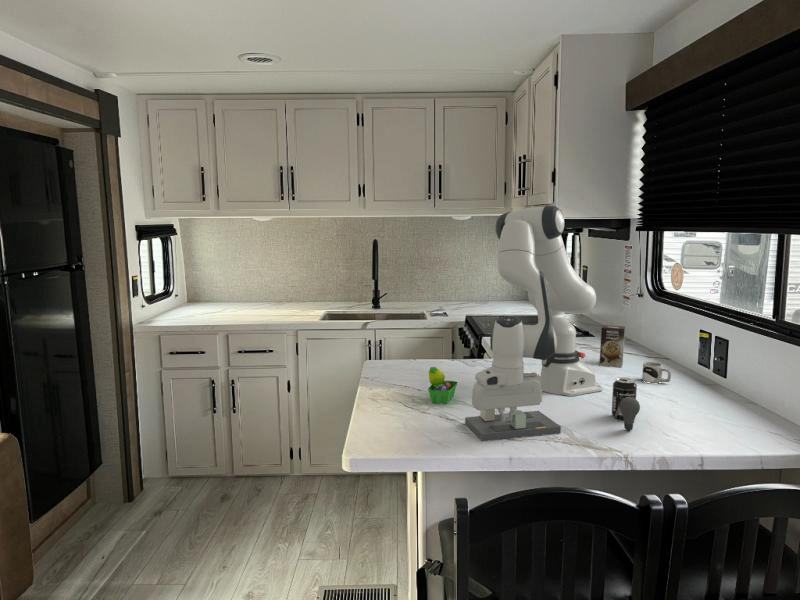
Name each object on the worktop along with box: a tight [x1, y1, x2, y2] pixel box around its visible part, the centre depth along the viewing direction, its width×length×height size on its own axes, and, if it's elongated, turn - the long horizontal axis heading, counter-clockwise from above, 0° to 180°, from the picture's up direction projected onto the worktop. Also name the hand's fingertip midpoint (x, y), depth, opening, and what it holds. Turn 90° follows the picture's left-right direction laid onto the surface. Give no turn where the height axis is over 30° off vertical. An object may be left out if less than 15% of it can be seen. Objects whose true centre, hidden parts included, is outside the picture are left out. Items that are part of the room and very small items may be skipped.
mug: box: [641, 361, 672, 383], centre depth 219 cm, size 10×7×7 cm, turn 47°
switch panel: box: [464, 410, 562, 442], centre depth 174 cm, size 24×14×2 cm, turn 103°
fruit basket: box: [427, 366, 458, 405], centre depth 201 cm, size 11×9×11 cm
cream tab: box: [479, 409, 496, 421], centre depth 176 cm, size 3×4×4 cm
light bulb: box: [619, 397, 641, 432], centre depth 171 cm, size 6×6×10 cm
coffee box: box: [598, 324, 626, 368], centre depth 243 cm, size 9×6×16 cm
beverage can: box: [611, 376, 638, 421], centre depth 182 cm, size 7×7×12 cm
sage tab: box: [510, 409, 526, 429], centre depth 170 cm, size 3×4×4 cm
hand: (506, 421), depth 169 cm, fingers closed
